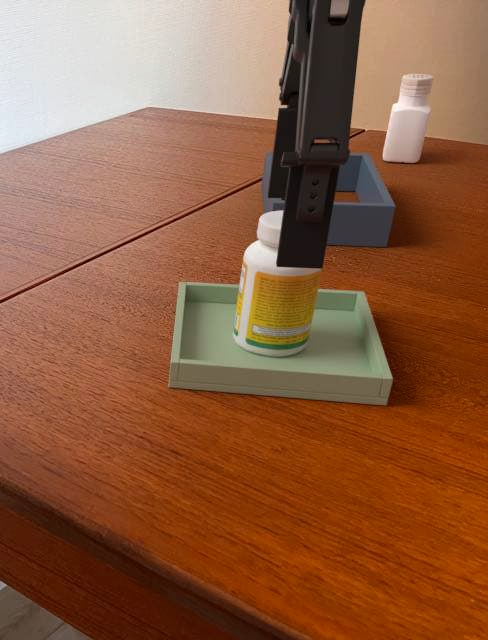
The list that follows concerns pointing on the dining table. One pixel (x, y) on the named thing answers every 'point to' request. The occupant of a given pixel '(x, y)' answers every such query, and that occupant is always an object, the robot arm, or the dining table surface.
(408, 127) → the salt shaker
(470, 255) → the dining table surface
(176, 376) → the tray
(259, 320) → the supplement bottle
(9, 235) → the dining table surface
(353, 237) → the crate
